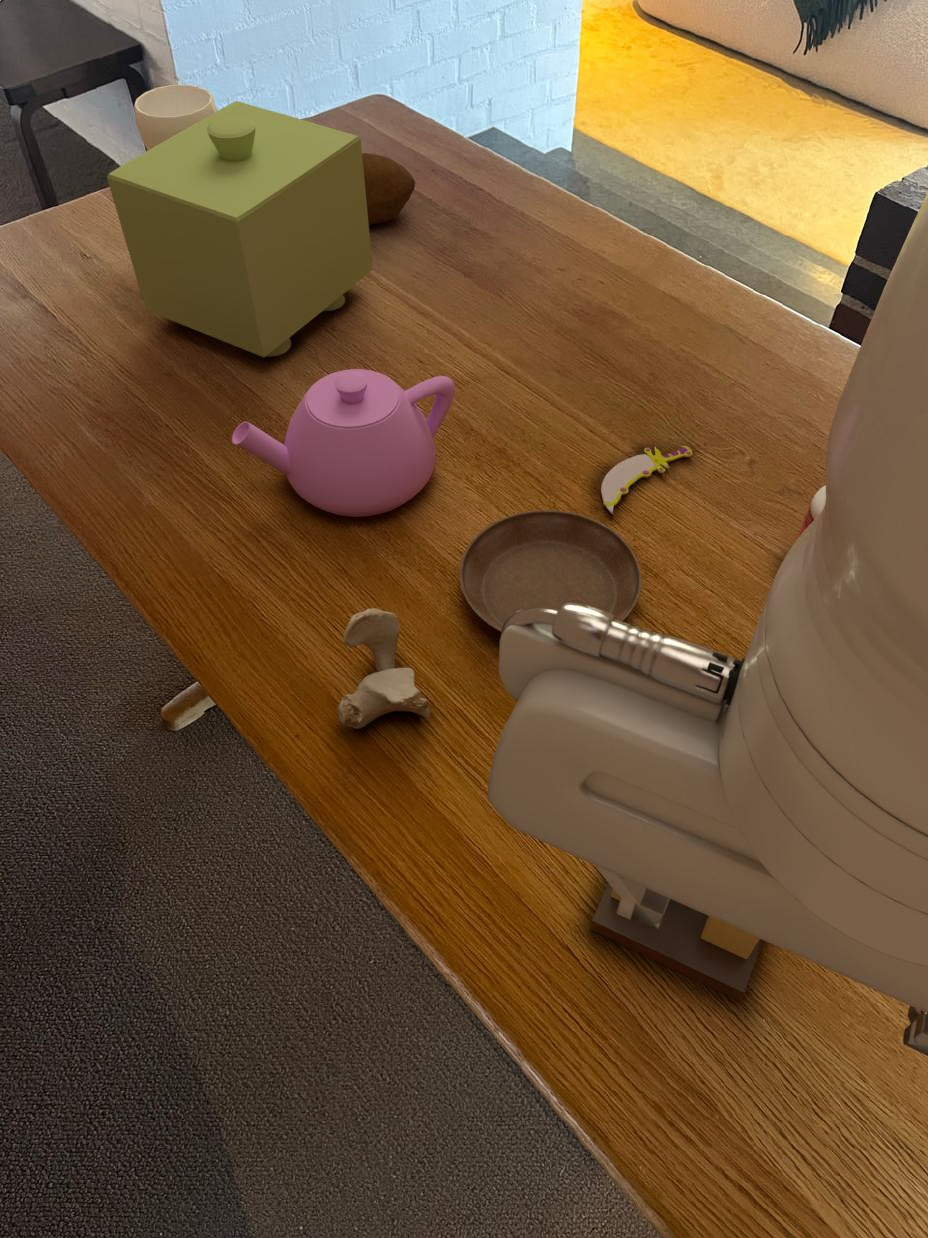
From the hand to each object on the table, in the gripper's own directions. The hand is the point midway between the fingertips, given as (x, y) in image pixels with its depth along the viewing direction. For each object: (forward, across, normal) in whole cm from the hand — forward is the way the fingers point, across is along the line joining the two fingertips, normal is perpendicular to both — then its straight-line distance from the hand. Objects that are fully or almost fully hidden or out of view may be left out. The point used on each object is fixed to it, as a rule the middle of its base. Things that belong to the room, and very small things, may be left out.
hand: (780, 966), depth 31 cm
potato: (+30, -66, +82) cm, 109 cm away
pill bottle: (+29, -2, +47) cm, 55 cm away
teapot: (+29, -44, +40) cm, 66 cm away
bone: (+29, -28, +19) cm, 45 cm away
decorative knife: (+29, -19, +52) cm, 63 cm away
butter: (+28, -3, +14) cm, 31 cm away
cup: (+30, -81, +69) cm, 110 cm away
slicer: (+29, -3, +20) cm, 35 cm away
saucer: (+29, -22, +35) cm, 51 cm away
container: (+29, -66, +60) cm, 94 cm away
